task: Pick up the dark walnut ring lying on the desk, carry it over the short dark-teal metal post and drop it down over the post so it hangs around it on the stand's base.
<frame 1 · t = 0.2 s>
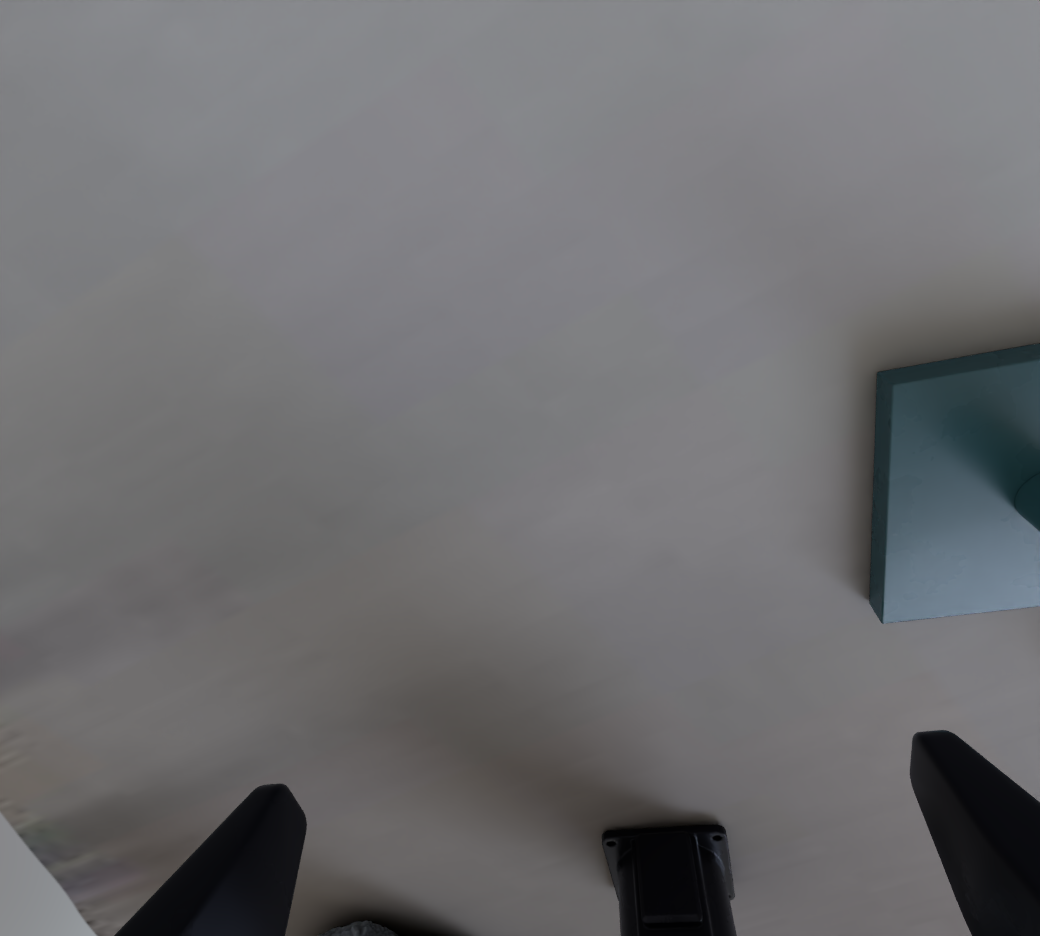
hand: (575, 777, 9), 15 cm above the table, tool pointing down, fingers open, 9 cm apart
post stand: (1024, 477, 22), on the table
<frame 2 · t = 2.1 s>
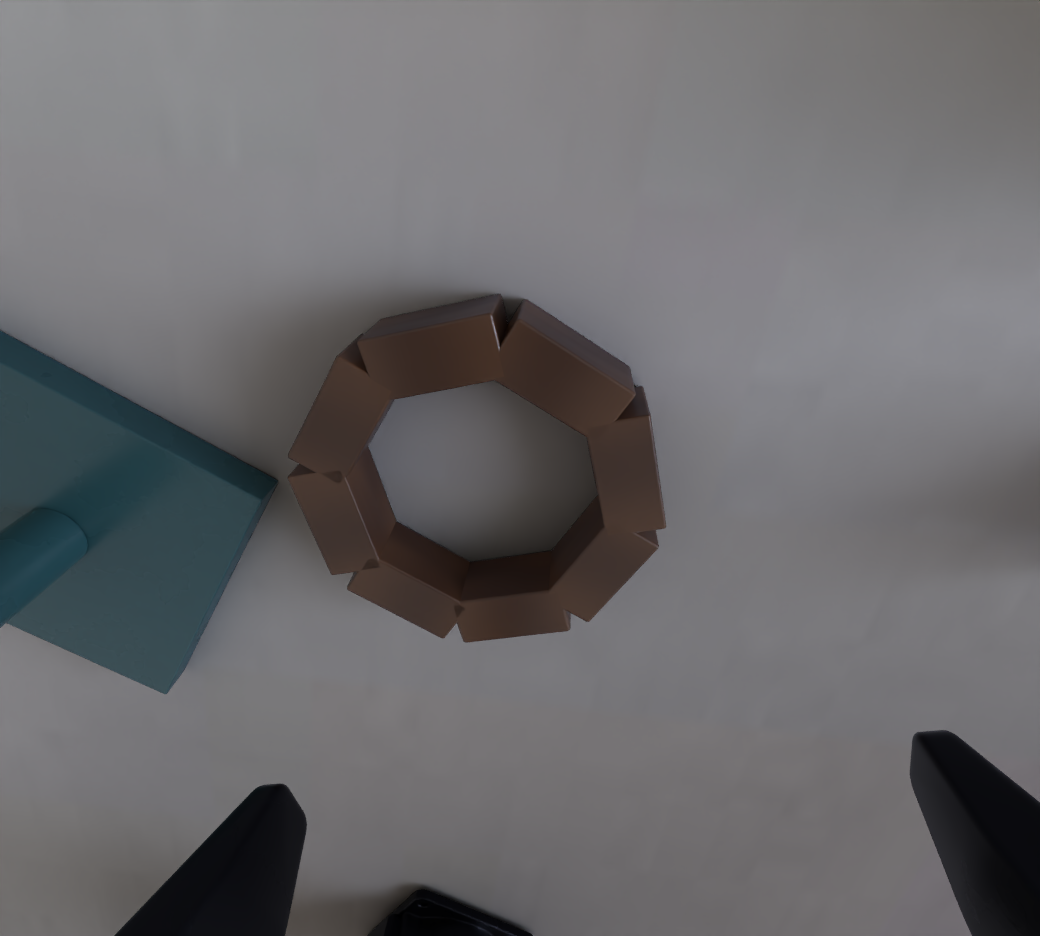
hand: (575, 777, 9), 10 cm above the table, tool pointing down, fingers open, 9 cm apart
ring: (485, 467, 18), on the table
post stand: (83, 514, 20), on the table
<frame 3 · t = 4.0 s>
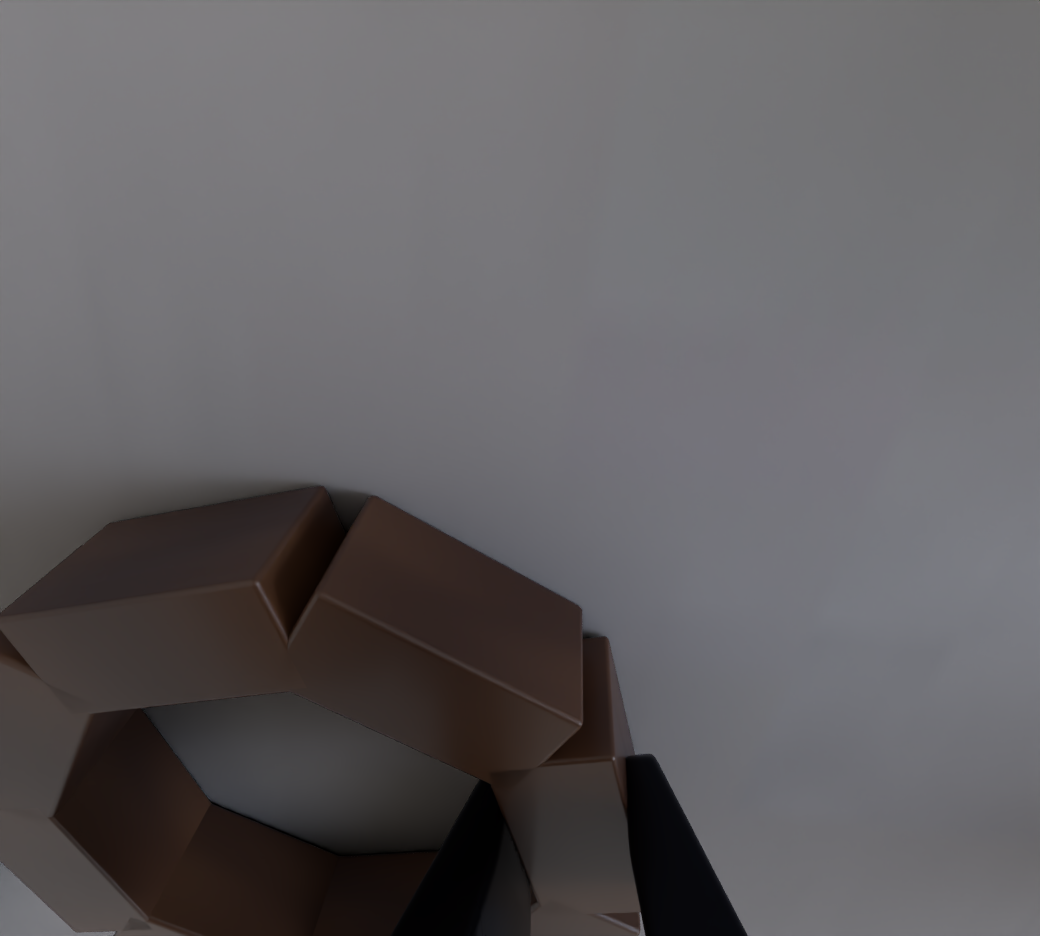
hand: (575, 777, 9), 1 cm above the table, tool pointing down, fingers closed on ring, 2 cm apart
ring: (342, 740, 10), on the table, touching gripper
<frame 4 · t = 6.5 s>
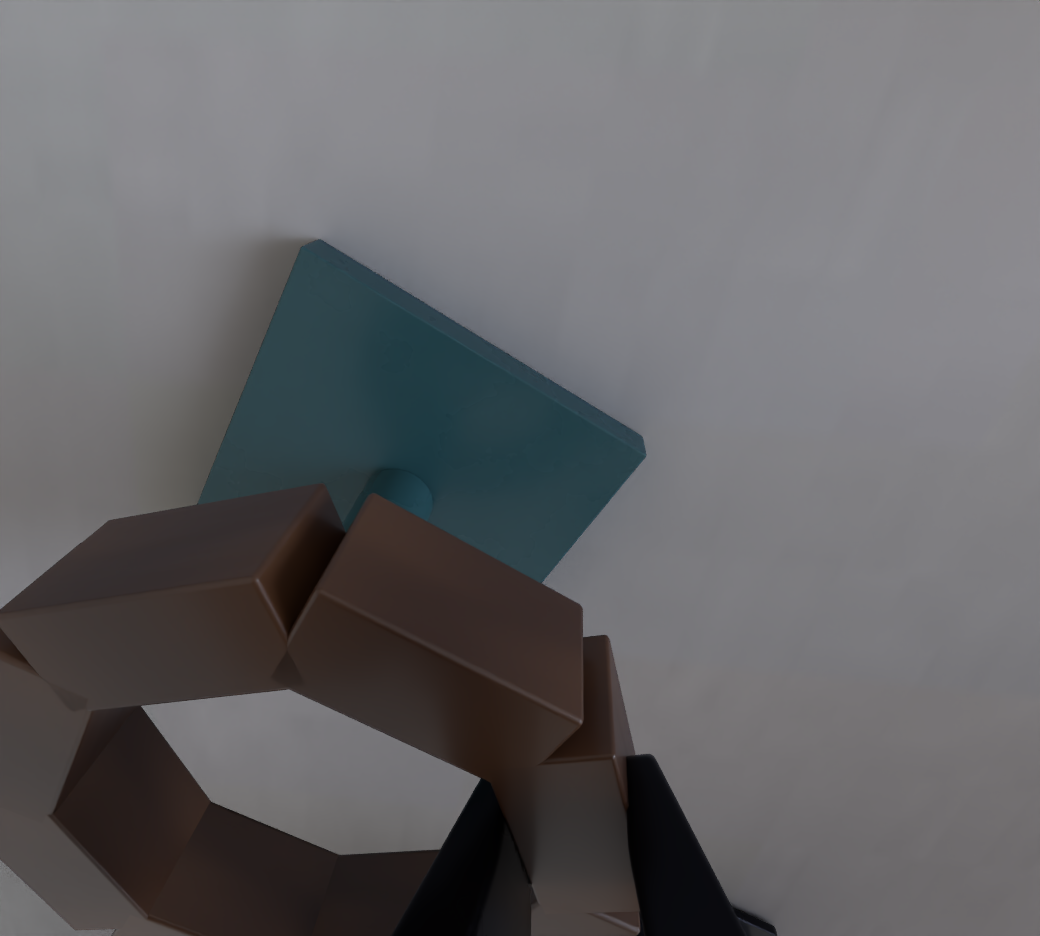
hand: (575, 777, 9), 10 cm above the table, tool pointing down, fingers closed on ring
ring: (342, 738, 10), point 9 cm above the table, touching gripper
post stand: (408, 478, 19), on the table
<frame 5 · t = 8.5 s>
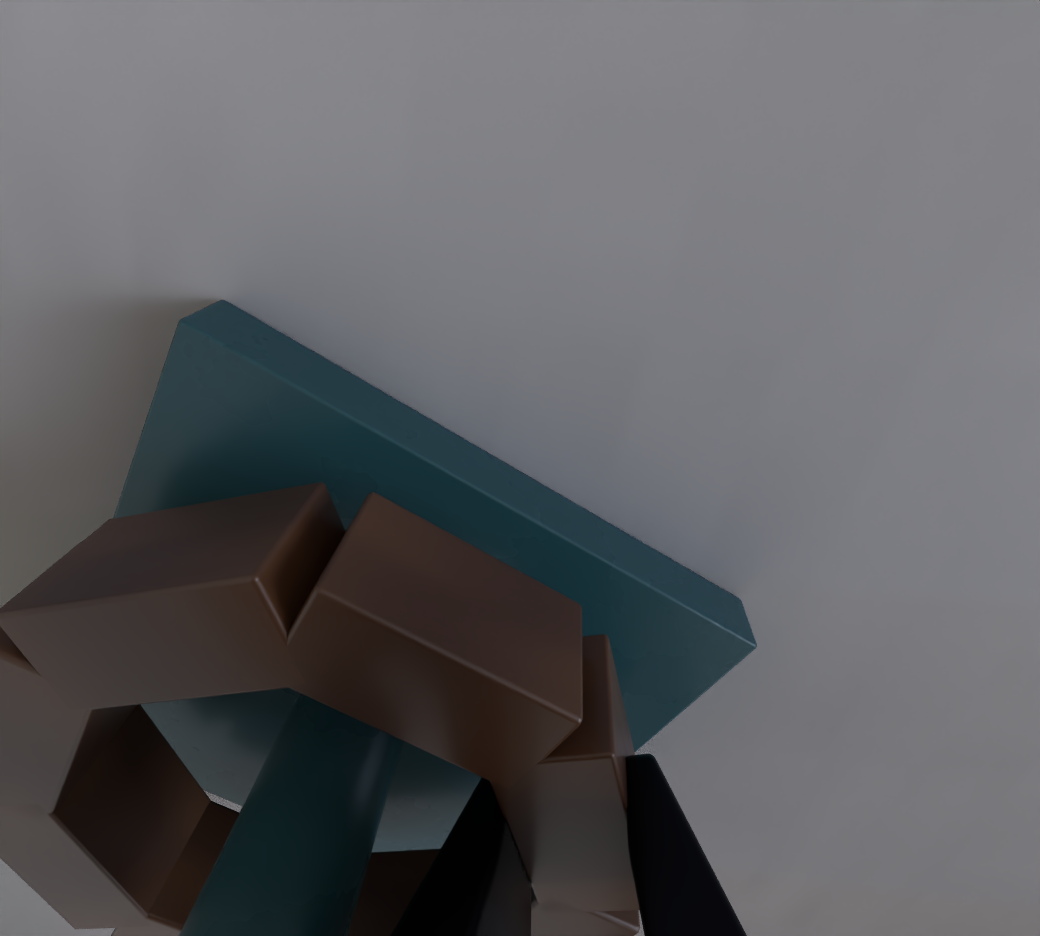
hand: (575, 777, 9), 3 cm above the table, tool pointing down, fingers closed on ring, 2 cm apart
ring: (341, 737, 10), point 2 cm above the table, touching gripper
post stand: (379, 643, 12), on the table
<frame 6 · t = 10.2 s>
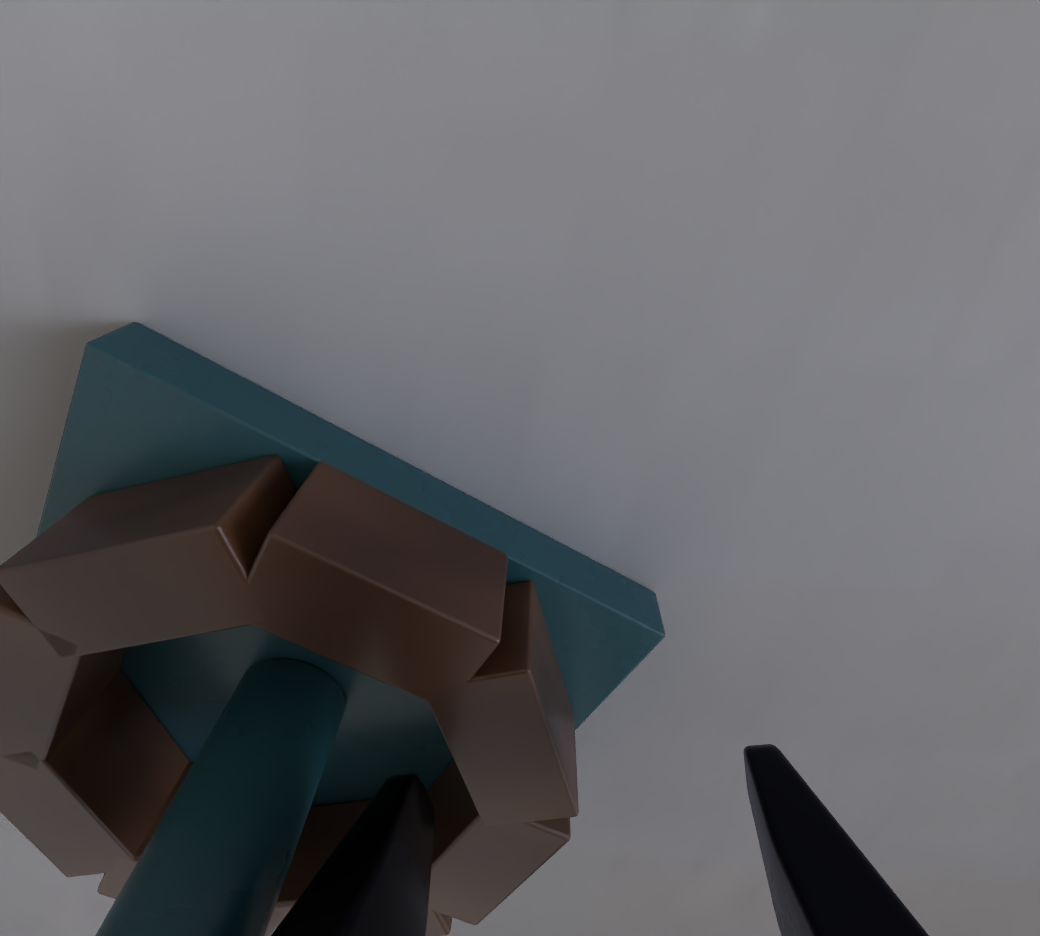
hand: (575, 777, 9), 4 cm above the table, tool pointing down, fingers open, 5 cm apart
ring: (306, 691, 12), point 1 cm above the table, touching post stand
post stand: (314, 649, 13), on the table
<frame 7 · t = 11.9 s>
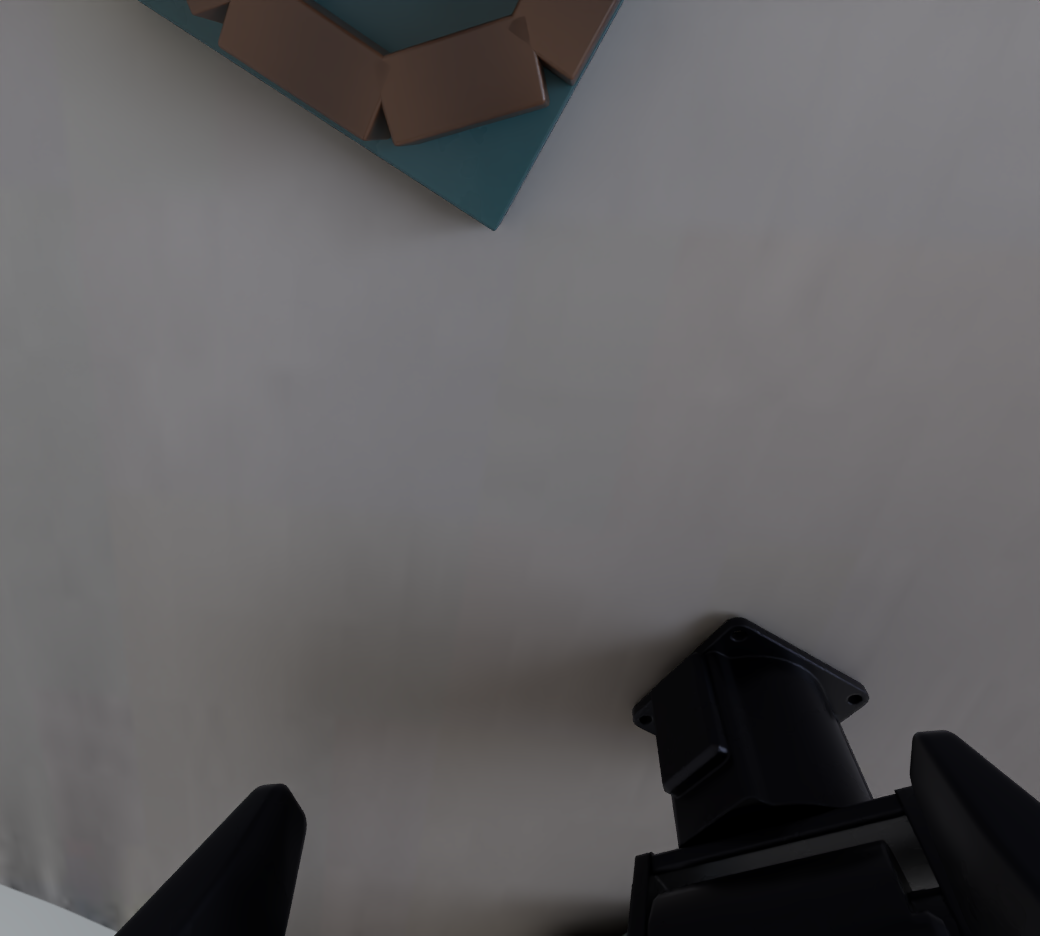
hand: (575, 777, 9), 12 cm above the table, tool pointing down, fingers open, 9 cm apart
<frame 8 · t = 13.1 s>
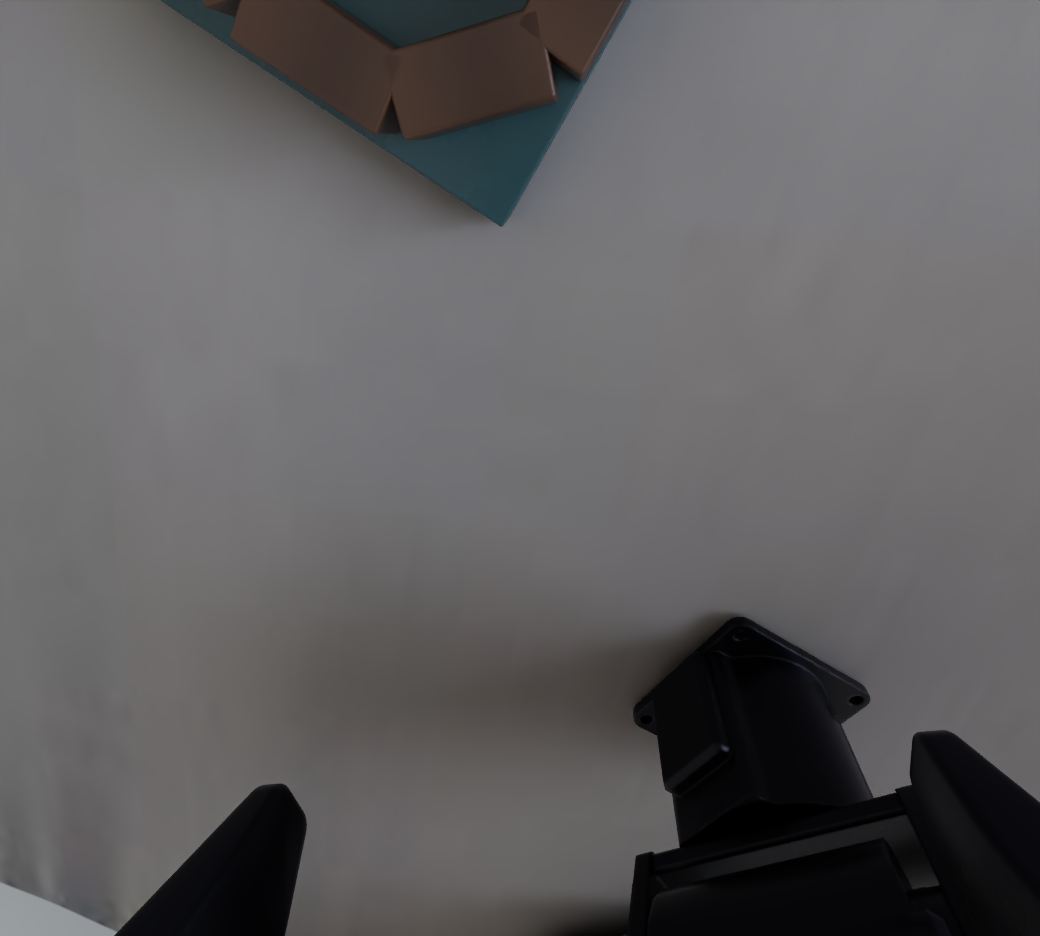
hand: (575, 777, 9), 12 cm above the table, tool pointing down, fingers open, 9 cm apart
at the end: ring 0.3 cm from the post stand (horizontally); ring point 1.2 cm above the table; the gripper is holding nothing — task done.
